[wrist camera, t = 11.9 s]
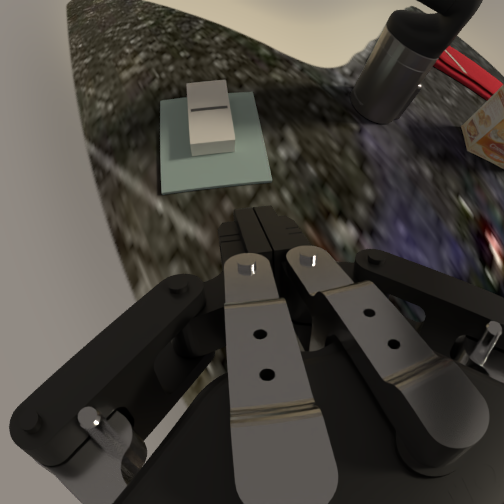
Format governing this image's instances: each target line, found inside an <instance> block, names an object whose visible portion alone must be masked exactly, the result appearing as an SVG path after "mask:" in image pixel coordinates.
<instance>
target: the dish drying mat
mask: <svg viewBox="0 0 504 504" xmlns="http://www.w3.org/2000/svg"><path fill="white" fill-rule="evenodd" d="M433 66H434V67H435V68H437V69H439V70H441V71H442V72H444V73H446V74H447V75H449V76H451V77H452V78H454V79H455V80H457V81H459V82H460V83H462V84H463V85H465V86H466V87H468V88H469V89H471V90H472V91H474V92H475V93H477V94H478V95H480V96H481V97H483V98H484V99H486V100H487V101H488V100H489V99H490V98H491V97H492V96H493V95H494V94H495V93H496V92H497V91H498V89H499V88H500V87H501V86H502V85H503V84H502V83H501V82H500V81H499V80H497V79H496V78H495V77H493V76H492V75H491V74H489V73H488V72H487V71H485V70H484V69H483V68H481V67H480V66H479V65H477V64H476V63H475V62H473V61H472V60H470V59H469V58H467V57H466V56H464V55H463V54H461V53H460V52H458V51H457V50H455V49H454V48H452V47H451V46H448V48H447V49H446V50H445V51H444V52H443V53H442V54H441V56H440V57H439V58H438V60H437V61H436V63H435V64H434V65H433Z"/></svg>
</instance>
